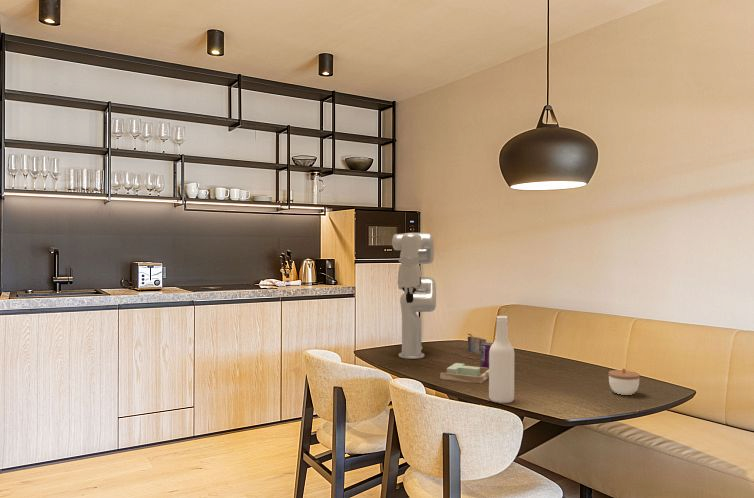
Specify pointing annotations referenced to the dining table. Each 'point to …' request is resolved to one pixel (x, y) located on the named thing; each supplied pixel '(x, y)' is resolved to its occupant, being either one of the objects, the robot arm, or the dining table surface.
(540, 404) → the dining table surface
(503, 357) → the alcohol
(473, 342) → the ruin model on sheet
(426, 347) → the dining table surface
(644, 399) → the dining table surface
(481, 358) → the beverage can
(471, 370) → the tee block
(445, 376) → the oak frame
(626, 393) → the lidded jar
